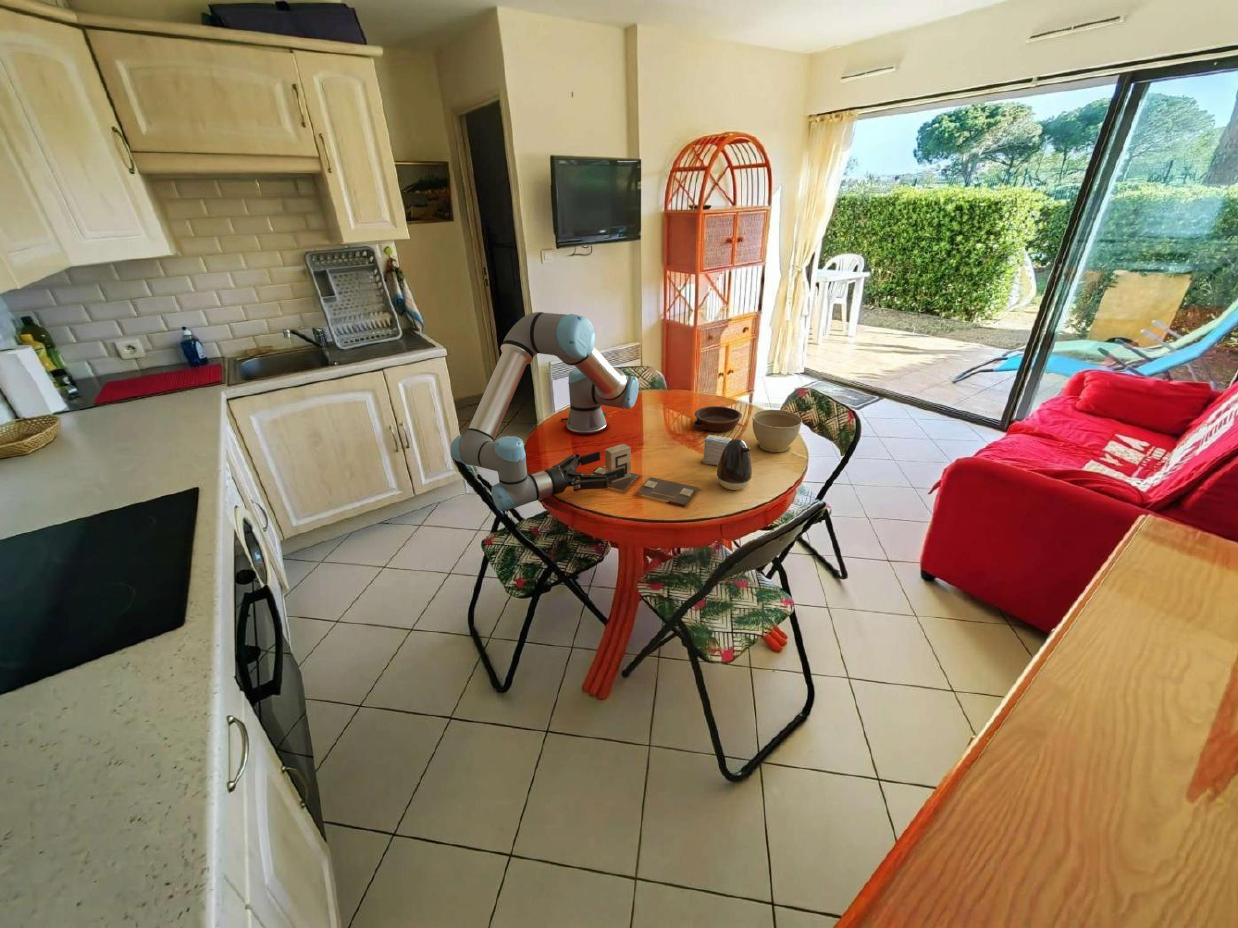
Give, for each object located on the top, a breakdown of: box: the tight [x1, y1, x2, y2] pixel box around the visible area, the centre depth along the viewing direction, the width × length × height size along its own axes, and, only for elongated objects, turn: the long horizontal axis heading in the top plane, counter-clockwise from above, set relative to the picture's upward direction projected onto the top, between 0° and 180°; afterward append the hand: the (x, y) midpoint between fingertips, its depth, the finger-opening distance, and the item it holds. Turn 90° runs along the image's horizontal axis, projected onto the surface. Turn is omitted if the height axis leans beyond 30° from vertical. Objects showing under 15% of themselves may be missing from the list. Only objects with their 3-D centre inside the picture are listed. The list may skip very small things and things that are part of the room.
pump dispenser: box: [716, 438, 753, 491], centre depth 149 cm, size 10×10×15 cm
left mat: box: [589, 466, 640, 492], centre depth 157 cm, size 14×11×1 cm
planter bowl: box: [751, 409, 803, 453], centre depth 174 cm, size 16×16×11 cm
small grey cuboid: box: [604, 443, 632, 483], centre depth 155 cm, size 4×7×10 cm, turn 124°
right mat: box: [636, 476, 698, 508], centre depth 149 cm, size 15×11×1 cm
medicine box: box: [702, 434, 733, 466], centre depth 165 cm, size 8×4×9 cm, turn 65°
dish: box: [692, 405, 743, 433], centre depth 194 cm, size 18×22×5 cm
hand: (611, 463), depth 153 cm, fingers open, 13 cm apart
